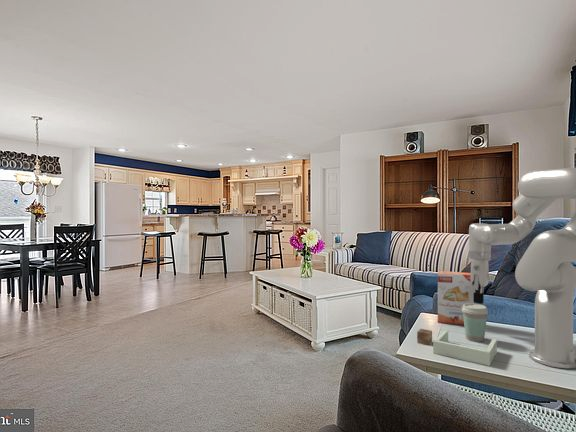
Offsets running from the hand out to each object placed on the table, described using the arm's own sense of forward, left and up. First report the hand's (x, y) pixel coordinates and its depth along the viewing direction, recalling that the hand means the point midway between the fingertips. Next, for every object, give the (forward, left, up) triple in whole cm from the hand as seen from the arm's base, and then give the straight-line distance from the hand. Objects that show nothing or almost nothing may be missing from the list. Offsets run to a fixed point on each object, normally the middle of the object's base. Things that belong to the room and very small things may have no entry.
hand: (478, 302), depth 137 cm
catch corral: (-1, +26, -11) cm, 28 cm away
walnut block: (+13, +24, -11) cm, 30 cm away
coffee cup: (-1, +10, -11) cm, 15 cm away
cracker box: (+9, -6, -11) cm, 16 cm away
